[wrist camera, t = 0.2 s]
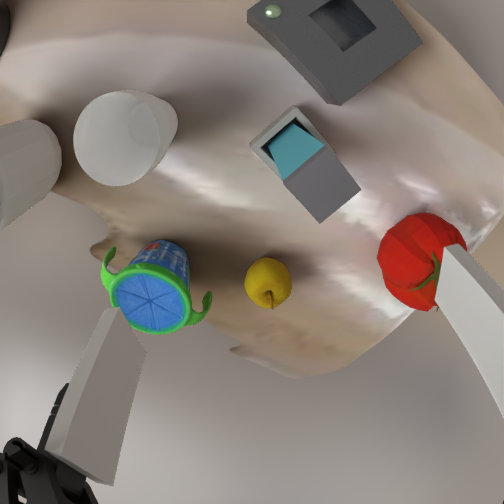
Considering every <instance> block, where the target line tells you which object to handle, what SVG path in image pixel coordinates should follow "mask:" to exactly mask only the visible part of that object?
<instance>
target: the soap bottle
mask: <svg viewBox="0 0 504 504" xmlns="http://www.w3.org/2000/svg"><path fill="white" fill-rule="evenodd" d="M61 165H62V158H61V148H60V145H59V142H58V139H57V136H56V135H55V134H54V132H53V131H52V130H51V129H50V127H49V126H47V125H45V124H43V123H41V122H39V121H36V120H31V119H28V120H20V121H15V122H12V123H9V124H5V125H2V126H0V231H2V230H3V229H4V228H6V227H7V226H8V225H9V224H11V223H12V222H13V221H14V220H15V219H17V218H18V217H19V216H21V215H22V214H23V213H24V212H26V211H27V210H28V209H30V208H31V207H32V206H34V205H35V204H37V203H38V202H39V201H41V200H42V199H43V198H45V196H46V195H47V194H48V193H49V191H50V190H51V188H52V187H53V186H54V184H55V183H56V181H57V179H58V176H59V173H60V169H61Z"/></svg>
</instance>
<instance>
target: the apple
mask: <svg viewBox="0 0 504 504" xmlns="http://www.w3.org/2000/svg"><path fill="white" fill-rule="evenodd" d="M244 286H245V290H246V293H247V294H248V296H249V298H250V299H251V300H252V301H254V302H255V303H256V304H257V305H259V306H260V307H263V308H271V309H273V308H274V307H277V306H278V305H279V304H281V303H282V302H283V301H285V300H286V299H287V298H288V297H289V295H290V293H291V289H292V283H291V277H290V273H289V271H288V269H287V268H286V266H285V265H284V264H283V263H281V262H279V261H278V260H276V259H272V258H266V257H264V258H260V259H258V260H256V261H255V262H254V263H253V264H252V265H251V266H250V267H249V269H248V271H247V274H246V277H245V281H244Z"/></svg>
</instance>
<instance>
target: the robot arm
mask: <svg viewBox="0 0 504 504" xmlns="http://www.w3.org/2000/svg"><path fill="white" fill-rule="evenodd" d="M9 25H10V15H9V10H8V8H7V6H6V5H5V4H4V3H2V2H0V55H1V53H2V51H3V48H4V46H5V43H6V39H7V36H8V31H9ZM435 301H436V303H437V304H438V306H439V307H440V309H441V310H442V312H443V313H444V314H445V316H446V318H447V319H448V321H449V322H450V324H451V325H452V327H453V328H454V330H455V331H456V333H457V335H458V336H459V338H460V339H461V341H462V343H463V344H464V346H465V347H466V349H467V351H468V352H469V354H470V356H471V358H472V359H473V361H474V363H475V364H476V366H477V368H478V370H479V371H480V373H481V375H482V377H483V379H484V381H485V382H486V384H487V386H488V388H489V390H490V392H491V394H492V396H493V398H494V400H495V402H496V403H497V406H498V408H499V410H500V412H501V414H502V416H503V418H504V290H503V289H502V288H501V287H500V286H499V285H498V284H497V283H496V281H495V280H494V279H493V278H492V277H491V276H490V275H489V274H488V273H487V272H486V271H485V270H484V269H483V268H482V267H481V266H480V265H479V263H477V262H476V261H475V260H474V258H473V257H472V256H471V255H470V254H469V253H468V252H466V251H465V250H464V249H463V248H462V247H461V246H460V245H459V244H454V245H450V246H446V247H444V251H443V258H442V264H441V270H440V276H439V281H438V286H437V291H436V296H435ZM146 353H147V352H146V350H145V348H144V347H143V345H142V344H141V342H140V341H139V339H138V337H137V336H136V334H135V332H134V331H133V329H132V327H131V326H130V324H129V322H128V321H127V319H126V317H125V316H124V314H123V312H122V310H121V309H120V307H116V308H109V309H105V310H104V312H103V314H102V316H101V318H100V320H99V322H98V323H97V325H96V327H95V329H94V332H93V333H92V336H91V338H90V340H89V342H88V344H87V346H86V348H85V350H84V352H83V354H82V356H81V359H80V361H79V363H78V365H77V367H76V370H75V372H74V374H73V376H72V379H71V381H70V383H66V385H65V386H64V387H63V389H62V390H61V391H60V392H59V394H58V396H57V398H56V401H55V403H54V407H53V408H52V411H51V416H49V418H48V421H47V423H46V426H45V429H44V431H43V435H42V437H41V440H40V443H39V445H38V448H37V450H36V449H34V448H33V447H32V446H30V445H29V444H27V443H26V442H25V441H24V440H22V439H21V438H18V437H15V438H12V439H11V440H9V441H8V442H7V444H6V445H5V447H4V450H3V454H2V453H0V504H24V503H22V502H20V501H19V500H18V495H20V496H22V497H24V498H26V499H27V503H26V504H98V502H97V500H96V498H95V496H94V494H93V492H92V490H91V487H90V486H89V484H88V483H87V482H86V477H88V478H89V479H91V480H93V481H95V482H97V483H101V484H105V485H109V486H113V484H114V478H115V474H116V470H117V464H118V460H119V456H120V451H121V447H122V442H123V438H124V434H125V430H126V426H127V422H128V418H129V414H130V410H131V406H132V403H133V399H134V395H135V391H136V388H137V384H138V381H139V377H140V374H141V370H142V366H143V363H144V360H145V357H146ZM503 504H504V501H503Z"/></svg>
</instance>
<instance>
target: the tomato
mask: <svg viewBox="0 0 504 504" xmlns="http://www.w3.org/2000/svg"><path fill="white" fill-rule="evenodd" d="M454 244H459V245H460V246H461V247H462V248H463V249H464V250H465V251H466V252H467V247H466V243H465V241H464V239H463V237H462V235H461V234H460V232H459V231H458V229H457V228H455V227H454V226H453V225H452V224H450V223H448V222H446V221H445V220H443V219H442V218H441V217H439V216H436V215H434V214H429V213H418V214H413V215H409V216H407V217H406V218H404V219H403V220H402V221H400V222H399V223H398V224H396V225H395V226H394V227H392V228H391V229H389V230H388V231H387V233H386V234H385V236H384V237H383V239H382V240H381V243H380V247H379V251H378V255H377V260H378V262H379V265H380V267H381V269H382V273H383V279H384V282H385V285H386V288H387V289H388V290H389V291H390V292H391V294H392V295H393V296H394V297H396V298H397V299H398V300H400V301H401V302H402V303H404V304H405V305H407V306H409V307H410V308H414V309H417V310H422V311H429V310H430V309H431V308H432V307H433V306H434V305H435V306H438V304H437V303H436V301H435V296H436V291H437V286H438V281H439V276H440V270H441V264H442V258H443V251H444V247H446V246H450V245H454ZM438 308H439V306H438ZM438 308H437V310H438Z"/></svg>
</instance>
